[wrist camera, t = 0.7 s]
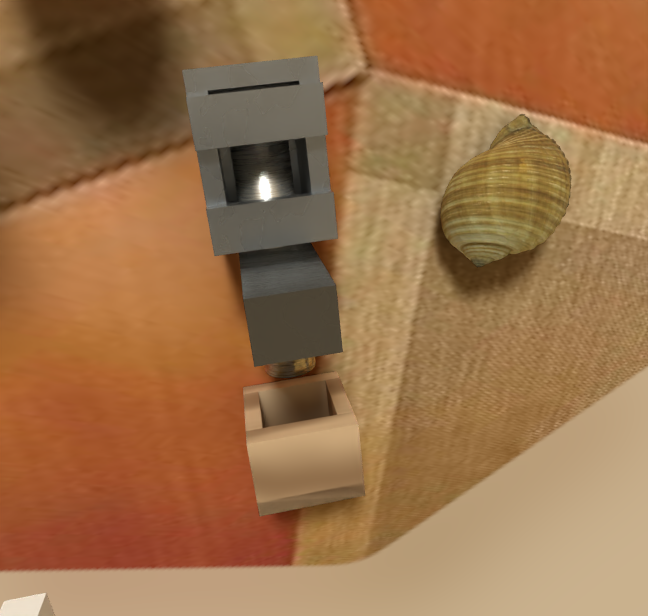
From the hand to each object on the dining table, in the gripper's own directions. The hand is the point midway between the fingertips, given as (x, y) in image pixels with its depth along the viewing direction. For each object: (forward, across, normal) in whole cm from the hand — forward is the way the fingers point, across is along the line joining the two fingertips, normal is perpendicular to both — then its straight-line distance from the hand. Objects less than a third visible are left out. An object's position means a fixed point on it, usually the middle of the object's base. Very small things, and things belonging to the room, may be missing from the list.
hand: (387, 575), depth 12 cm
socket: (+27, -1, -12) cm, 29 cm away
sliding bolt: (+26, -1, +1) cm, 26 cm away
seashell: (+27, +14, +2) cm, 31 cm away
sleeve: (+26, -1, +7) cm, 27 cm away
